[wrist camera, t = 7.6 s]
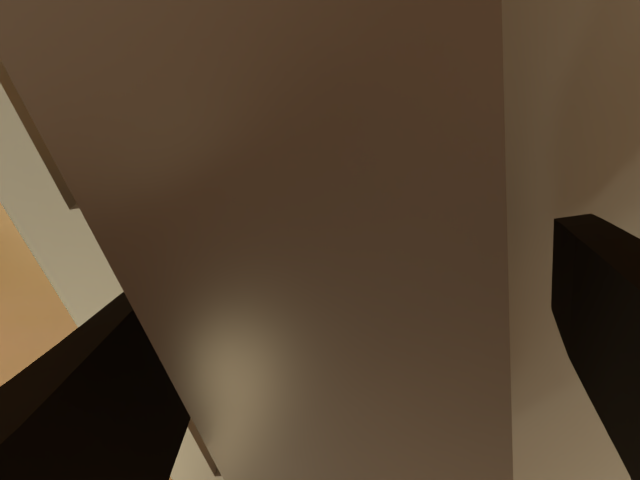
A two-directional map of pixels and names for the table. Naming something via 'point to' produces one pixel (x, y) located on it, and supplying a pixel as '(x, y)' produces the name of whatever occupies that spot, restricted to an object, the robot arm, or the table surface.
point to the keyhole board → (522, 215)
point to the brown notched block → (296, 217)
